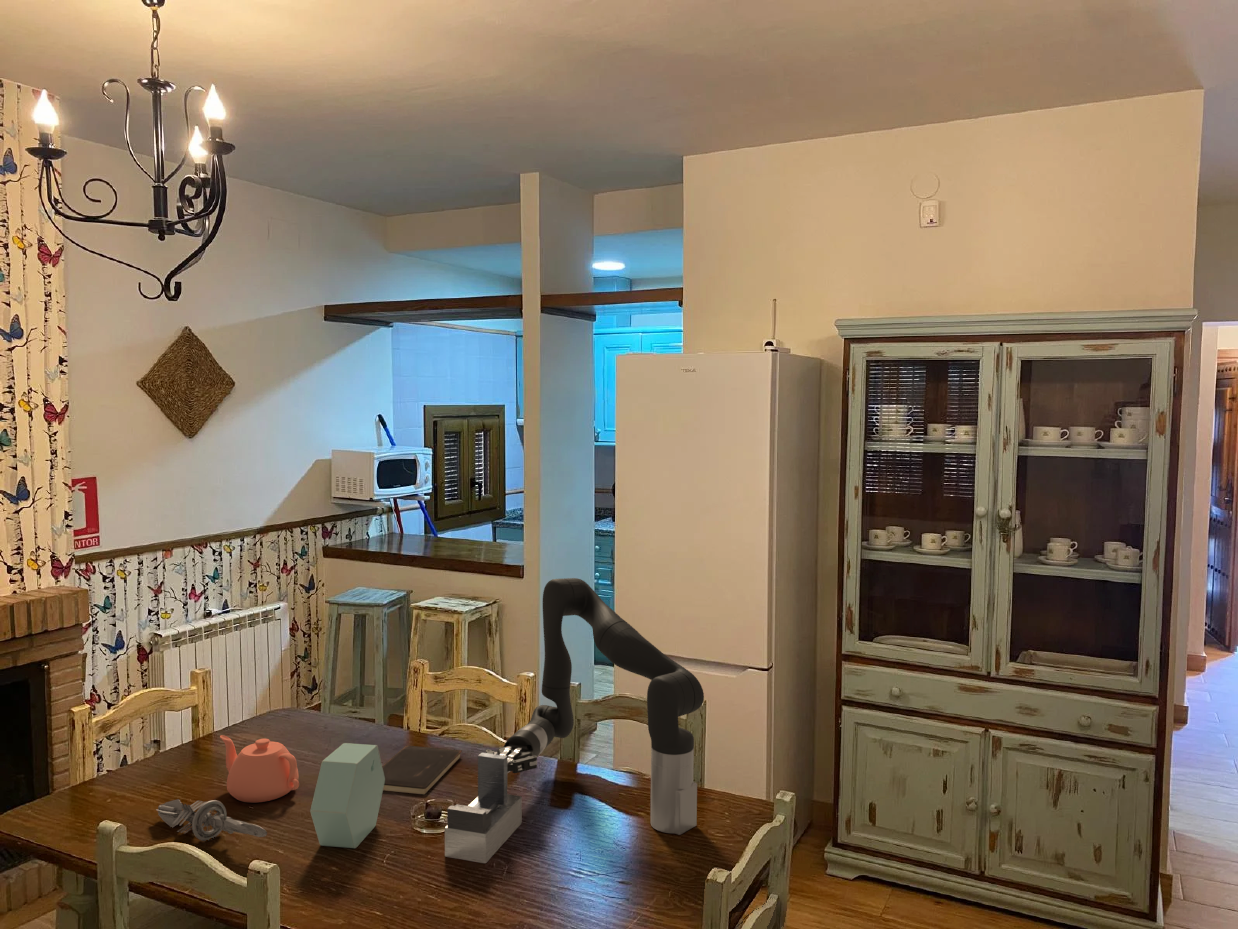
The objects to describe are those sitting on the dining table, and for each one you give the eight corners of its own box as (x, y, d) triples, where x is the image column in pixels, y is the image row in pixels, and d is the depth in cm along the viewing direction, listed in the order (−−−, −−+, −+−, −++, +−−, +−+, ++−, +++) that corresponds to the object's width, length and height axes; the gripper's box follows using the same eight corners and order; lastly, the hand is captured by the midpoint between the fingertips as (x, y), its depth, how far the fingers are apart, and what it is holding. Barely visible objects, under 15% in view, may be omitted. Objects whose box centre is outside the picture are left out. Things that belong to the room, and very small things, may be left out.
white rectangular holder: (483, 817, 197) (483, 773, 196) (521, 823, 194) (521, 778, 194) (444, 856, 180) (444, 808, 179) (485, 863, 177) (485, 814, 177)
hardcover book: (461, 759, 231) (461, 750, 230) (425, 797, 208) (425, 787, 208) (404, 753, 234) (404, 745, 234) (362, 791, 211) (362, 781, 211)
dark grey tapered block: (481, 798, 192) (481, 752, 191) (507, 801, 190) (507, 756, 190) (458, 820, 182) (458, 772, 181) (485, 824, 180) (485, 776, 179)
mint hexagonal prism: (336, 850, 191) (357, 751, 201) (370, 853, 190) (390, 753, 200) (302, 840, 176) (327, 734, 186) (339, 843, 175) (363, 736, 185)
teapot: (197, 798, 205) (195, 745, 205) (246, 772, 220) (245, 722, 219) (275, 813, 198) (274, 758, 197) (320, 785, 213) (319, 734, 212)
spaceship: (243, 832, 173) (273, 802, 179) (135, 809, 190) (166, 783, 197) (259, 863, 176) (288, 832, 182) (151, 837, 193) (181, 810, 199)
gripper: (500, 726, 209) (466, 753, 193) (552, 732, 205) (522, 761, 189) (500, 757, 210) (466, 787, 193) (552, 764, 206) (522, 795, 189)
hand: (494, 774), depth 191 cm, fingers closed
